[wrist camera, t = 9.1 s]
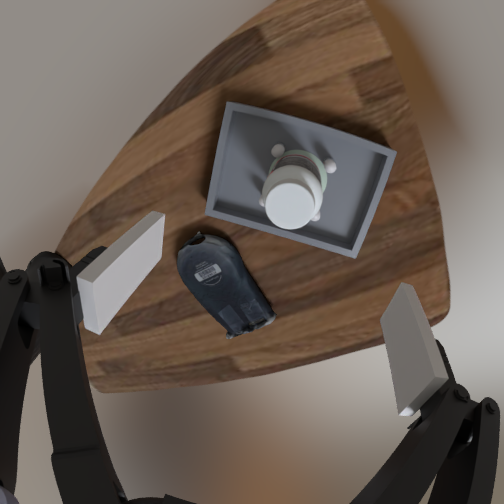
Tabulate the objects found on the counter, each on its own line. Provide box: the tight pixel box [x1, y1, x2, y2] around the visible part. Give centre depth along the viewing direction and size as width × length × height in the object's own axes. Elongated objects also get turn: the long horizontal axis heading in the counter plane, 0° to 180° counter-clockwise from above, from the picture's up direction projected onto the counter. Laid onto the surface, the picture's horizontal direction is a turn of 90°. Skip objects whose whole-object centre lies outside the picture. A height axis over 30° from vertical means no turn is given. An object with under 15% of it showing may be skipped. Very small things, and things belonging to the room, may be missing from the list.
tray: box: [205, 102, 397, 259], centre depth 31 cm, size 18×13×4 cm
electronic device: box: [177, 231, 277, 339], centre depth 40 cm, size 9×6×15 cm
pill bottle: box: [262, 154, 323, 229], centre depth 28 cm, size 5×5×10 cm
